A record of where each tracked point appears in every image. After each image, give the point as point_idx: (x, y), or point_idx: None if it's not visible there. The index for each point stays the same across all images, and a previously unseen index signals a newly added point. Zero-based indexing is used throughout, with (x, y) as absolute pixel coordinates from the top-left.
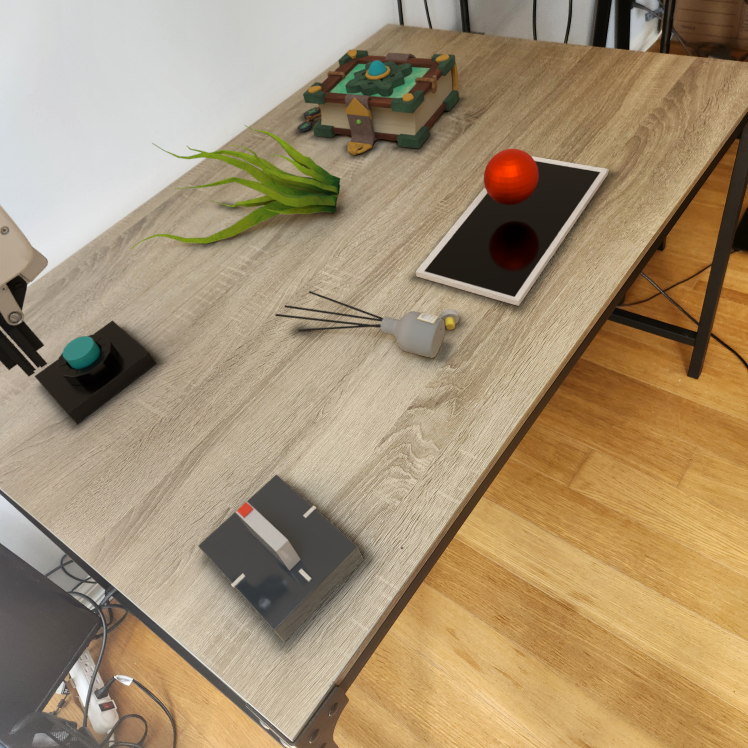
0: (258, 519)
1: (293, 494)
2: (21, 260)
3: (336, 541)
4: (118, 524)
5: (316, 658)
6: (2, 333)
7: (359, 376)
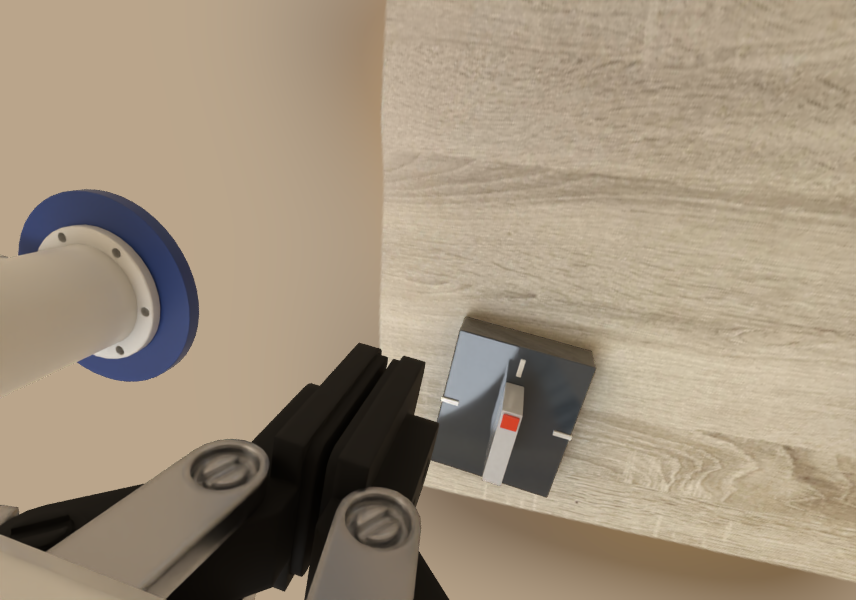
0: (507, 442)
1: (576, 405)
2: None
3: (541, 477)
4: (442, 158)
5: (438, 469)
6: (300, 561)
7: (838, 354)
